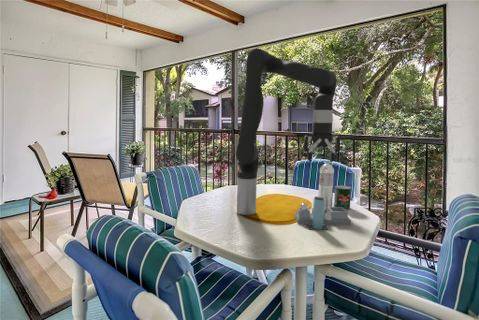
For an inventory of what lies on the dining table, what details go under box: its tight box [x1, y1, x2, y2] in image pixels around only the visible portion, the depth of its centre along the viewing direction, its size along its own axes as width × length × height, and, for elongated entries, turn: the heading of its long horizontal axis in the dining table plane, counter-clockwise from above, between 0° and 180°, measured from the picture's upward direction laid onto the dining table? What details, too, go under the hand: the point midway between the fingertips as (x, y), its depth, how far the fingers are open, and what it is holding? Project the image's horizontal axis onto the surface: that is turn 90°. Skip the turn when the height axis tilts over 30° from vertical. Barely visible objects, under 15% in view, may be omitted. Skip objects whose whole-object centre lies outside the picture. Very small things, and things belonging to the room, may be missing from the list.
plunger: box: [300, 202, 308, 210], centre depth 133 cm, size 3×3×5 cm
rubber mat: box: [306, 224, 329, 231], centre depth 126 cm, size 8×5×1 cm, turn 88°
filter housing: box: [294, 206, 352, 226], centre depth 134 cm, size 23×9×6 cm, turn 88°
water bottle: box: [317, 160, 335, 213], centre depth 148 cm, size 7×7×25 cm
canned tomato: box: [333, 184, 352, 211], centre depth 154 cm, size 8×8×11 cm
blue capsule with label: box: [312, 196, 325, 229], centre depth 125 cm, size 4×4×13 cm
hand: (320, 161), depth 122 cm, fingers open, 8 cm apart
